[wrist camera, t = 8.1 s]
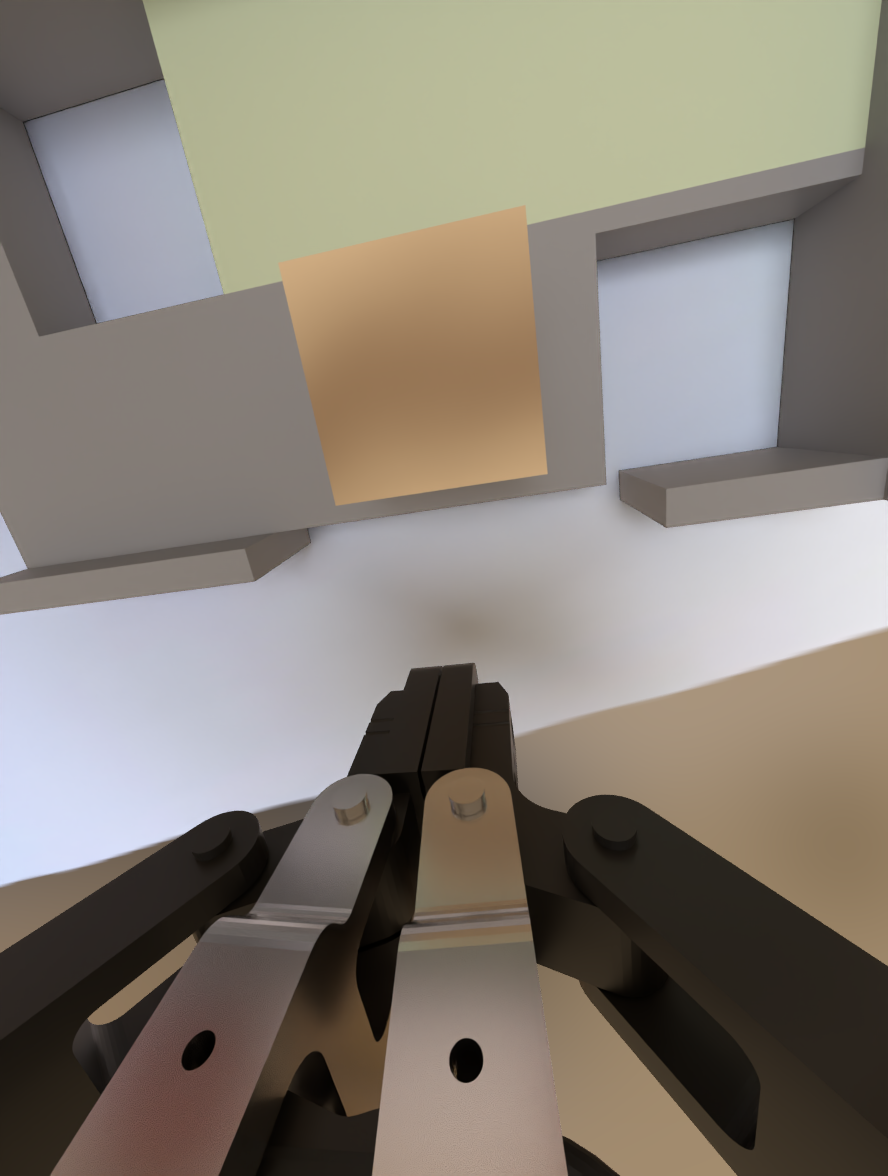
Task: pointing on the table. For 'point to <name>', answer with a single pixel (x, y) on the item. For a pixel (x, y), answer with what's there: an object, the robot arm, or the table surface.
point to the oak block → (422, 358)
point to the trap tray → (413, 202)
